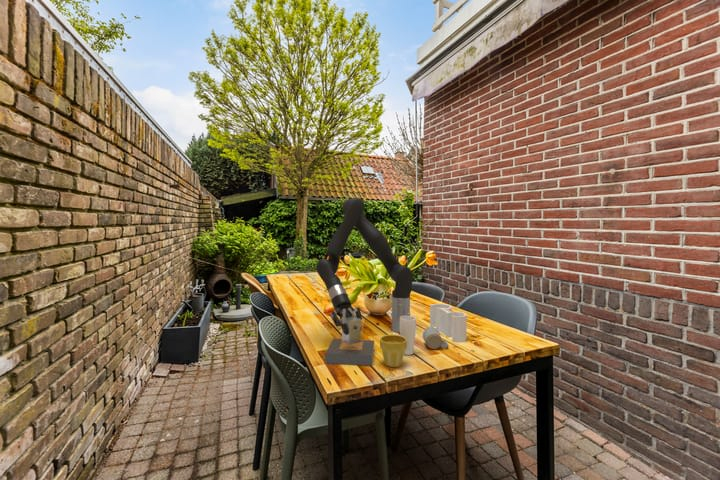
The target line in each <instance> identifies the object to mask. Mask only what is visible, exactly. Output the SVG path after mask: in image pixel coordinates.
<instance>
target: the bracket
mask: <svg viewBox="0 0 720 480" xmlns="http://www.w3.org/2000/svg"><path fill="white" fill-rule="evenodd" d="M429 306H430V307H429V327H433V328H435V329H437V330H438V332H439V334H442V335H443V336H445V338H450V337H451V342H452V343H465V342H466V341H467V326H468V324H467V323H468V322H467V321H468V316H467V313H465V312H462V311H457V310H456V311H452V309H453V307H452V305H450V304H446V303H433V304H429Z"/></svg>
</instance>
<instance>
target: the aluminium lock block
mask: <svg viewBox="0 0 720 480" xmlns="http://www.w3.org/2000/svg"><path fill="white" fill-rule="evenodd" d="M344 321H345V324H346V326H347V329H348V331H349V333H348V334H347V335H345V334H344V333H343V330H342V329H341V339H342V341H343V342H345V343H347V344H348V345H351V344H355V343H359V342H360V340H362V338H361V334H362V332H361V331H362V329H361V327H362V326H361V325H362V320H361V319H359V318H357V317H353V316H351V317H346V318H345V319H344Z"/></svg>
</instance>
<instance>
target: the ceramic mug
mask: <svg viewBox="0 0 720 480" xmlns="http://www.w3.org/2000/svg"><path fill="white" fill-rule="evenodd" d="M422 339H423V341H424V342H425V345H426V347H428V349H431V350H437V349H439V348H440V347H442V348H443V349H448V347H449V343H448V342H446V341H445V340H444V339H442V336H441V333H440V332H438V330H437V329H436V327H430V326H428V327H425V329H424V330H423V332H422Z"/></svg>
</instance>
